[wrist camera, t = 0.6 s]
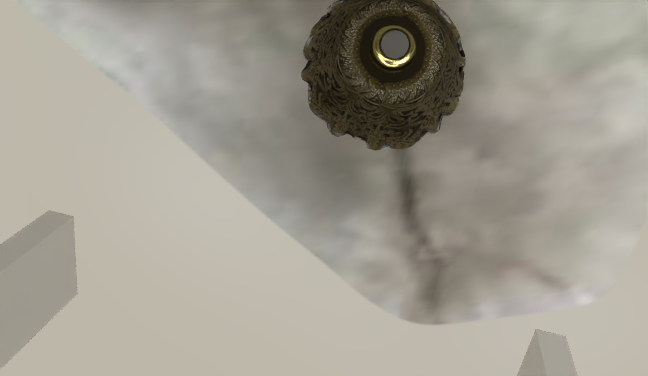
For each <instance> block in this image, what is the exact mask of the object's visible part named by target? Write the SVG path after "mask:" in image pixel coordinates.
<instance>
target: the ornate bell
mask: <svg viewBox="0 0 648 376" xmlns="http://www.w3.org/2000/svg"><path fill="white" fill-rule="evenodd" d="M327 11H328V13H327V14H326V15H324V16H323V17H321V19H320V20H319V21H318V22H317V23H316V24H315V26H314V27H313V28H312V30H311V35H310V38H309V39H308V40H307V42H306V44H305V46H304V50H303V53H304V56H305V58H306V59H307V60H308V63H307V65H306V67H305V68H304V69H303V71H302V72H301V76H302V79H303V80H304V81H306V82H307V83H308V87H309V90H308V101H309V106H310V109H311V110H312V112H313V113H314V114H315V115H316V116H318V117H319V118H321V119H322V120H324V121H325V122H327V127H328V129H329V131H330V132H331V133H332V134H333V135H335V136H337V137H339V136H341V135H345V134H349V135H351V136H352V137H353V138H354V139H361V140H364V141H366V143H367V144H366V146H367V148H369V149H372V150H380V149H382V148H384V147H385V146H387V147H390V148H392V149H404V148H408V147H411V146H412V145H414V144H415V143H416V142H417V141H419V140H420V139H421V138H422V137H423V136H424V135H425V134H426V133H427V132H429V133H435V132H437V131H438V130H439V129H440V125H441V120H442V117H443V116H448V115H451V114H452V113H453V111H454V110H455V109H456V107H457V105H458V102H459V99H458V97H459V96H460V94H461V92H462V91H463V79H464V72H463V67H464V66H465V54H464V51H463V49H462V46H461V42H460V36H459V33H458V31H457V29H456V27H455V25H454V24H453V22H452V21H451V20H450V18H449V17H448V16H447V15H446V14H445V12H444V11H443V10H441V9H440V8H439V7H438V5H437V4H436V3H435V2H434V1H432V0H339V1H336V2H334V3H333V4H331V5H330V6H329V8H328V9H327ZM392 30H398V31H401V32H403V33H404V34H405V35H406V36H407V38H408V40H409V48H408V51H407V52H406V54H405V55H404V56H402V57H401V58H398V59H391V58H388V57H387V56H385V55H384V53H383V52H382V50H381V40H382V38H383V36H384V35H385V34H386V33H387V32H389V31H392ZM343 133H344V134H343Z"/></svg>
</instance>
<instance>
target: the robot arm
mask: <svg viewBox="0 0 648 376" xmlns="http://www.w3.org/2000/svg"><path fill="white" fill-rule="evenodd" d="M76 294H77V277H76V257H75V237H74V217H73V216H70V215H66V214H62V213H57V212H54V211H47V212H46V213H45V214H43V215H42V216H40V217H39V218H37V219H36V220H35V221H33V222H32V223H30V224H29V225H27V226H26V227H25V228H23V229H22V230H21V231H19V232H17V233H16V234H15V235H14V236H12V237H10V238H9V239H8V240H6V241H5V242H3V243H2V244H0V369H1V368H2V367H3V366H4V365H5V364H6V363H7V362H8V361H9V360H10V359H11V358H12V357H13V356H14V355H15V354H16V353H17V352H18V351H19V350H20V349H21V348H23V347H24V346H25V344H27V343H28V342H29V341H30V339H32V338H33V337H34V336H35V335H36V334H37V333H38V332H39V331H40V329H42V328H43V327H44V326H45V325H46V324H47V323H48V322H49V321H50V320H51V319H52V318H53V317H54V316H55V315H56V314H57V313H58V312H59V311H60V310H61V309H62V308H63V307H64V306H65V305H66V304H67V303H68V302H69V301H70V300H71V299H72V298H73V297H74V296H75V295H76ZM517 376H577V373H576V369H575V366H574V363H573V359H572V356H571V353H570V349H569V346H568V342H567V339H566V336H562V335H558V334H554V333H550V332H546V331H542V330H538V329H536V330H535V333H534V335H533V337H532V340H531V342H530V345H529V348H528V350H527V352H526V355H525V357H524V360H523V362H522V365H521V367H520V370H519V372H518V375H517Z"/></svg>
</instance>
